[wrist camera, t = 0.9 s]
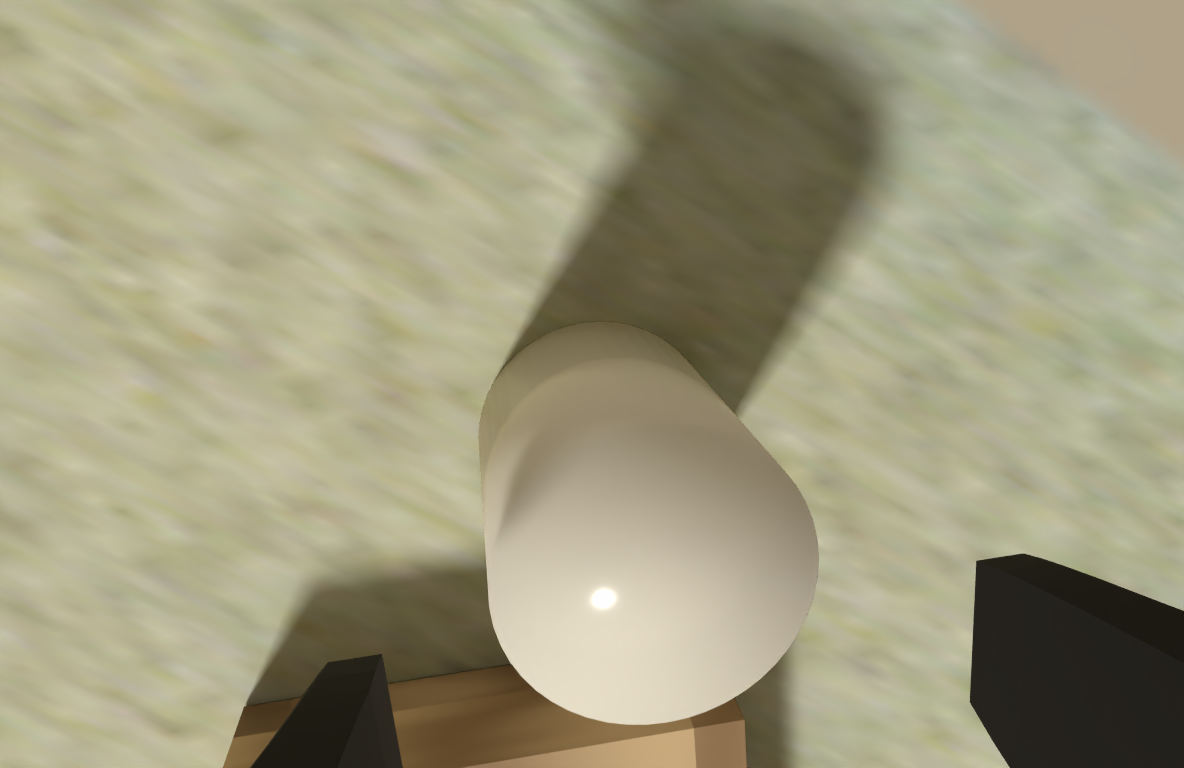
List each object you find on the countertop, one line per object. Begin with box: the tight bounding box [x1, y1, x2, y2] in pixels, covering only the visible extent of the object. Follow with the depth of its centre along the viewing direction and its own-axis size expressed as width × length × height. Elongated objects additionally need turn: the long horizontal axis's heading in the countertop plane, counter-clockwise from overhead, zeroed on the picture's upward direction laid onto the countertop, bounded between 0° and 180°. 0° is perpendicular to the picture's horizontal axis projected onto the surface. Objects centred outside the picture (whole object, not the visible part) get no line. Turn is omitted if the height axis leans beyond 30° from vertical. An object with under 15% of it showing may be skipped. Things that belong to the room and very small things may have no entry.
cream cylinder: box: [478, 321, 819, 725], centre depth 16 cm, size 5×5×6 cm
